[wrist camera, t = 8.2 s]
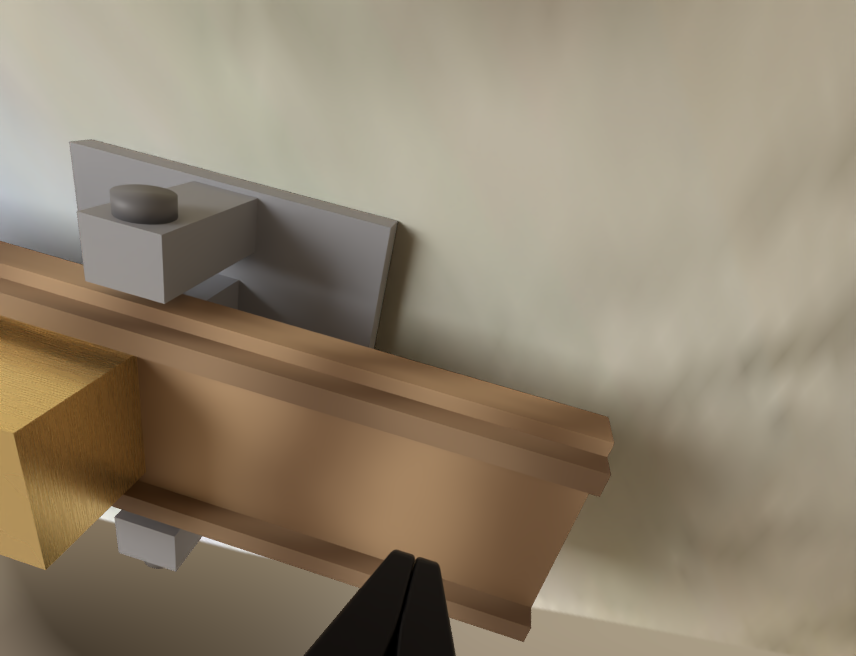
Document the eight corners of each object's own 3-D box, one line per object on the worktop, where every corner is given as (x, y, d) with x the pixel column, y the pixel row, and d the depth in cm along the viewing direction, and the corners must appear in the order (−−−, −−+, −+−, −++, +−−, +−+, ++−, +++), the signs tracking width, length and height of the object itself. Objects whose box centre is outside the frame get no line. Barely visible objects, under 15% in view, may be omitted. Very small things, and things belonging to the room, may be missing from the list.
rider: (136, 353, 15) (13, 433, 11) (145, 472, 17) (45, 570, 14) (-10, 309, 15) (-172, 374, 12) (19, 431, 18) (-111, 516, 14)
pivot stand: (399, 210, 17) (341, 262, 12) (344, 503, 24) (292, 620, 19) (90, 128, 18) (-93, 142, 13) (121, 433, 25) (10, 525, 20)
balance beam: (608, 417, 14) (618, 460, 12) (520, 598, 18) (518, 650, 16) (-223, 176, 16) (-310, 185, 15) (-139, 385, 20) (-200, 412, 19)
